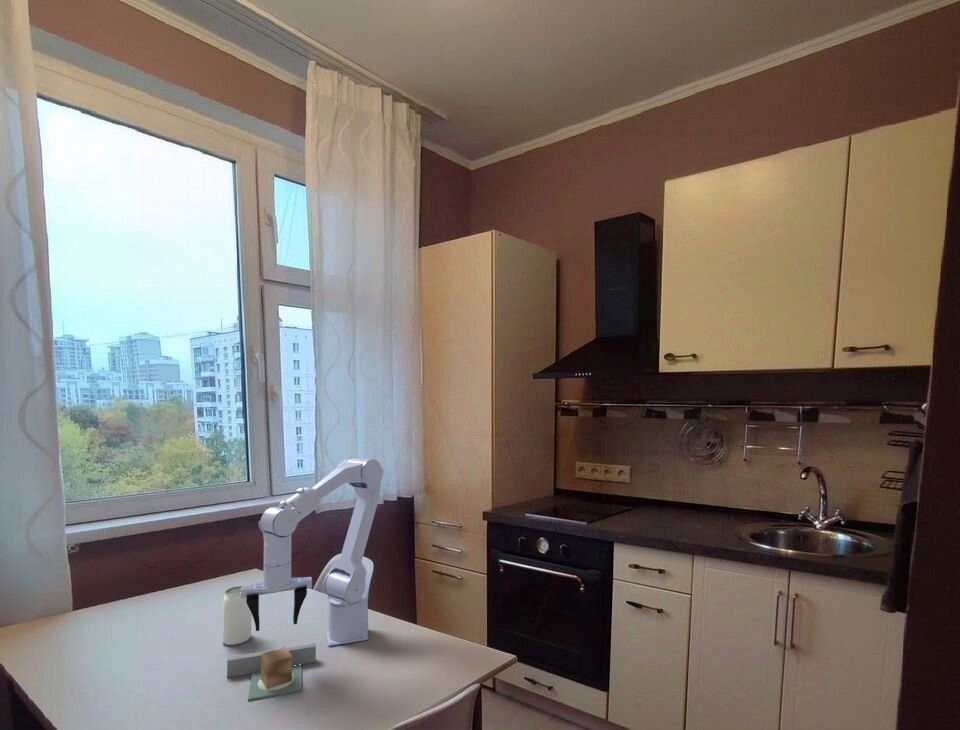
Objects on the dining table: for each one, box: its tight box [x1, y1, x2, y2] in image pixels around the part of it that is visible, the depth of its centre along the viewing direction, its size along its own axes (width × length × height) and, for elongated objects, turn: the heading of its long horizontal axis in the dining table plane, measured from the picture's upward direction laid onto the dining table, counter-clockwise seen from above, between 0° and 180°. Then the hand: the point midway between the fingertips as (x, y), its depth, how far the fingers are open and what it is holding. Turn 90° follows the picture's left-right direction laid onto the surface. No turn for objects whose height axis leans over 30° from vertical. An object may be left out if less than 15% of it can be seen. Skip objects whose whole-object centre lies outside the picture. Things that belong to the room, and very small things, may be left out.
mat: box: [247, 665, 303, 702], centre depth 106 cm, size 10×10×1 cm
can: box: [221, 585, 253, 646], centre depth 125 cm, size 6×6×12 cm
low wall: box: [226, 643, 317, 679], centre depth 112 cm, size 18×2×4 cm, turn 110°
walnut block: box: [261, 646, 292, 689], centre depth 106 cm, size 5×5×5 cm
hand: (276, 625), depth 112 cm, fingers open, 7 cm apart
